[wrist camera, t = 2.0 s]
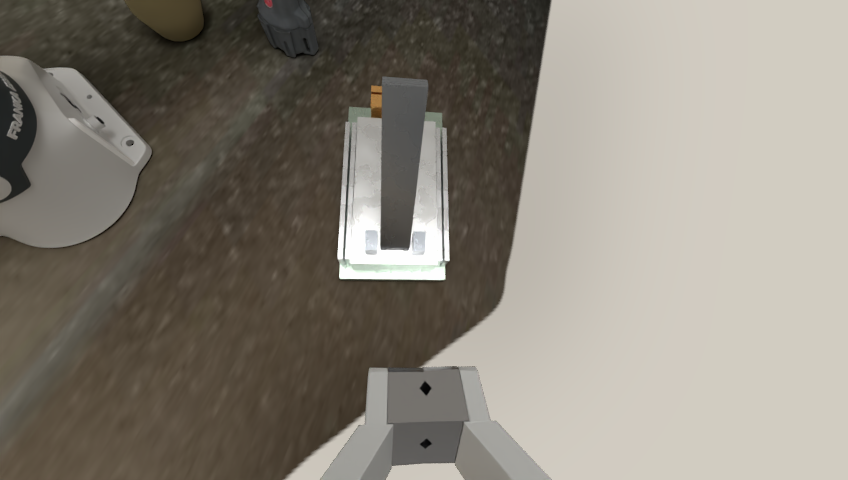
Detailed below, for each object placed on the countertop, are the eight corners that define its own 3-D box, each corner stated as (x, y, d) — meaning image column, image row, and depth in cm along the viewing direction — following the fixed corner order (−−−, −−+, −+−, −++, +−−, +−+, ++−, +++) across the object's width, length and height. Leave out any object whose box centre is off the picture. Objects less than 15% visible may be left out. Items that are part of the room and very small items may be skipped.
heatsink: (443, 281, 42) (455, 271, 35) (340, 280, 40) (331, 269, 33) (440, 119, 47) (450, 81, 40) (350, 113, 46) (344, 73, 39)
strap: (409, 243, 37) (409, 250, 36) (380, 242, 36) (380, 250, 36) (427, 80, 23) (428, 87, 23) (382, 76, 23) (382, 83, 22)
